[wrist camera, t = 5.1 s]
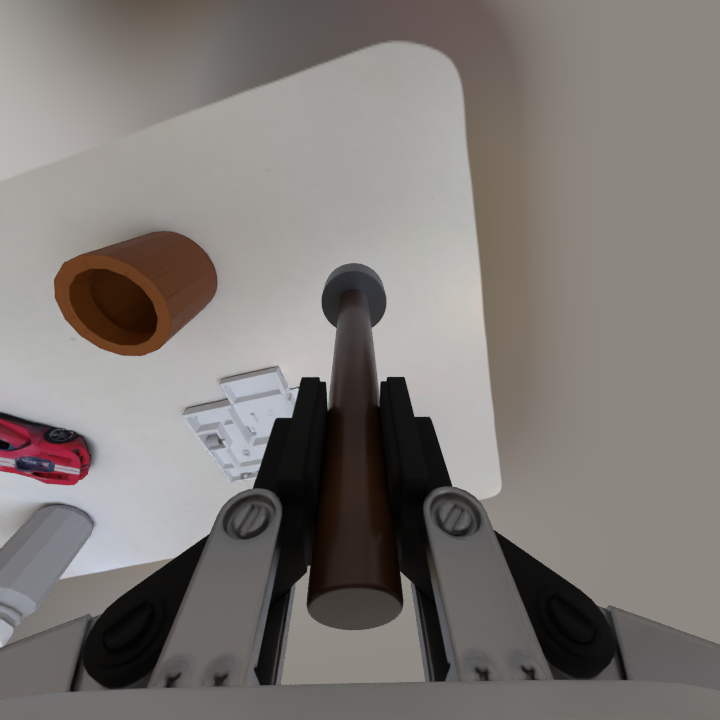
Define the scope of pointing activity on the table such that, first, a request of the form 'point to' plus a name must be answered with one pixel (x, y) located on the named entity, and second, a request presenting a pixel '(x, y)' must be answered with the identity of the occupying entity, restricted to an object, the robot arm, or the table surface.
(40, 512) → the jar
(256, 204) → the table surface
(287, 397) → the floor plan model
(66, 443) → the toy car
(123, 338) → the terracotta hollow cylinder
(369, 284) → the plunger
